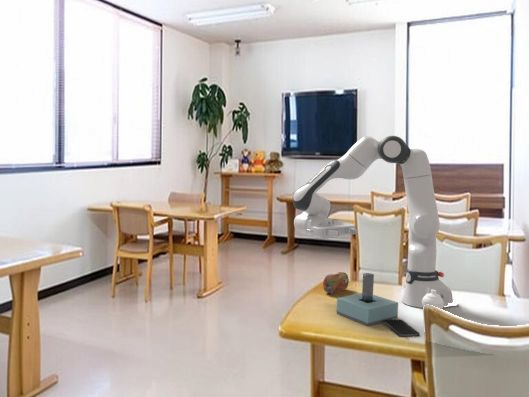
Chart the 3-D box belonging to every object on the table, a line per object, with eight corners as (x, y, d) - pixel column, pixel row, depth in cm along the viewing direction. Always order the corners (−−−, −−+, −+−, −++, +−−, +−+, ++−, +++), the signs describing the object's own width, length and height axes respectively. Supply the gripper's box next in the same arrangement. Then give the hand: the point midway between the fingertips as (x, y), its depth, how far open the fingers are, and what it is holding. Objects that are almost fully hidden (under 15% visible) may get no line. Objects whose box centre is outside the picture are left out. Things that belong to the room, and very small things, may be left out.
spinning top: (417, 321, 184) (419, 289, 183) (426, 316, 190) (428, 286, 189) (437, 326, 179) (439, 294, 178) (446, 322, 185) (448, 290, 184)
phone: (399, 334, 168) (381, 320, 183) (399, 338, 168) (381, 323, 183) (421, 334, 169) (401, 319, 184) (421, 337, 170) (401, 322, 184)
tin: (327, 295, 216) (327, 276, 215) (321, 293, 218) (322, 274, 217) (348, 289, 226) (349, 271, 225) (343, 288, 228) (344, 270, 227)
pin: (369, 311, 192) (371, 272, 190) (373, 314, 188) (375, 275, 186) (359, 311, 191) (361, 273, 189) (364, 315, 187) (365, 275, 185)
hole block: (365, 306, 200) (366, 292, 200) (397, 318, 188) (398, 302, 187) (336, 313, 191) (337, 298, 191) (367, 325, 178) (368, 309, 178)
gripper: (304, 222, 201) (327, 226, 190) (341, 219, 213) (365, 223, 202) (303, 237, 202) (327, 243, 191) (340, 233, 214) (364, 238, 203)
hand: (347, 233), depth 196 cm, fingers open, 8 cm apart
